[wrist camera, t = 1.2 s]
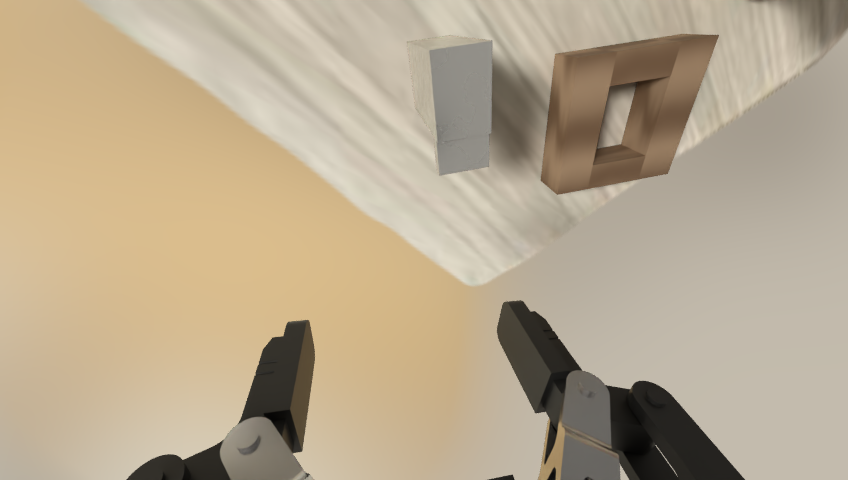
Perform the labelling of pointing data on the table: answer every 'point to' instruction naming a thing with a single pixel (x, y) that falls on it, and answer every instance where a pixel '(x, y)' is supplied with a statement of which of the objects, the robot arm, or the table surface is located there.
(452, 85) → the grey rectangular block
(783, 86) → the table surface
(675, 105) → the well block
